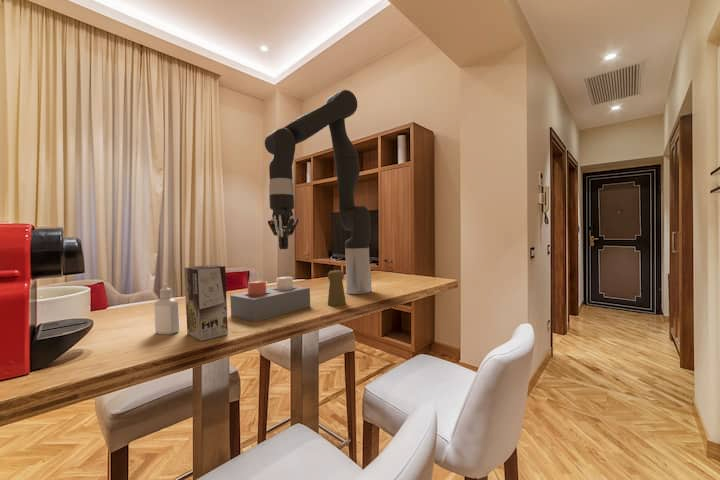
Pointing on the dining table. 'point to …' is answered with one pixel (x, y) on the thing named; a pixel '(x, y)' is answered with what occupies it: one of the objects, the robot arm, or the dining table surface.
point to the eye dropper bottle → (166, 313)
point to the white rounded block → (284, 283)
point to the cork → (336, 288)
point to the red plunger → (256, 288)
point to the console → (269, 303)
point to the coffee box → (206, 301)
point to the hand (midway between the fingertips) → (283, 249)
